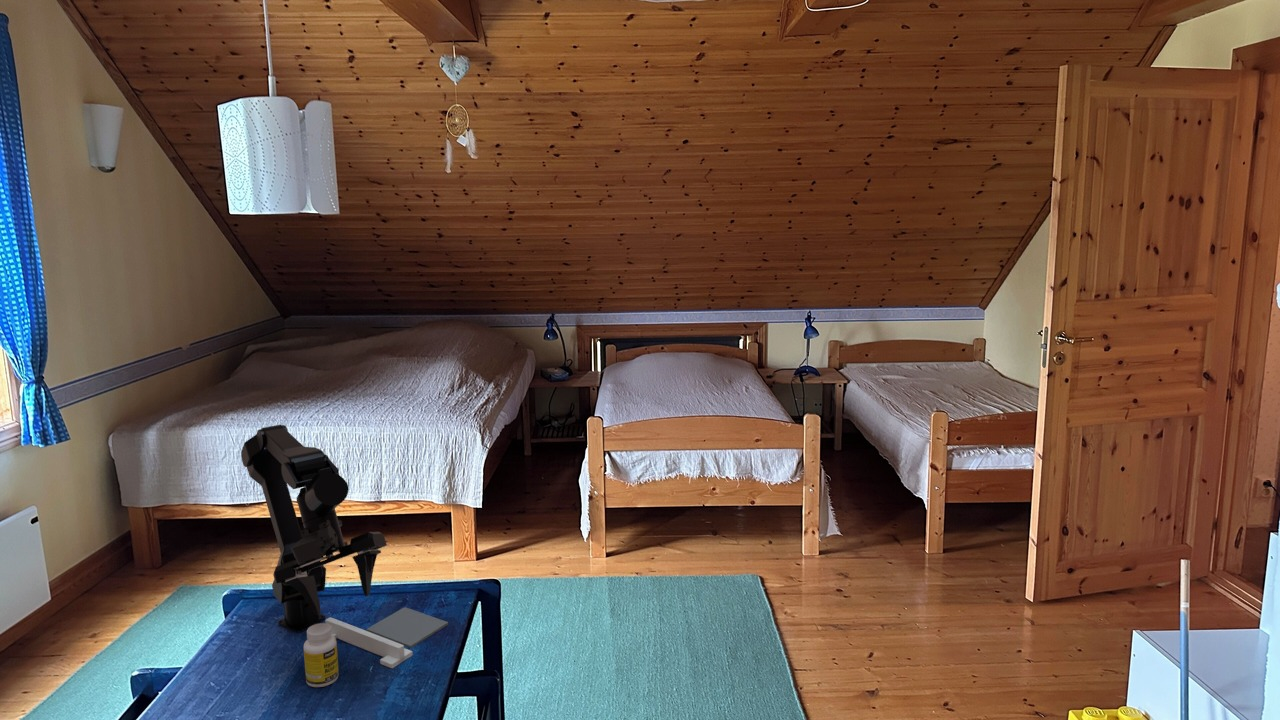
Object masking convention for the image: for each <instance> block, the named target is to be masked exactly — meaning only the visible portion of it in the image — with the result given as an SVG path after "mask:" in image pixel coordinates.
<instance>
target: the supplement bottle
mask: <svg viewBox="0 0 1280 720" xmlns="http://www.w3.org/2000/svg"><path fill="white" fill-rule="evenodd" d="M331 634H332V631H331V626H330V625H329V624H327V623H325V622H321V623H319V622H318V623H316V624H314V625H312V626H310V627H308V628H307V629H306V640H305V642H304V643H303V658H304V659H303V660H304V673H305V682H306V684H307V685H308V686H309V687H312V688H322V687H327V686H329V685H333V683H335V682H337V680H338V679H339V674H340V673H339V670H340V669H339V659H338V646H337V645H338V643H337V642H338V641H337V638H336V639H335V637H334V636H332V635H331Z"/></svg>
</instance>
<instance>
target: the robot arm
mask: <svg viewBox="0 0 1280 720" xmlns="http://www.w3.org/2000/svg"><path fill="white" fill-rule="evenodd" d="M240 456H241V463H242V465H243V468H247V469H246V470H247V472H248V475H249V477H250V478H251V479H252V480H254V481H255V482H256V484H258V485H260V486H261V488H262V492H263V496H264V499H265V502H266V505H267V509H268V513H269V517H270V520H271V523H272V527H273V530H274V533H275V536H276V537H275V538H276V541H277V544H278V548H279V552H280V555H279V558H278V561H277V564H276V566H275V568H274V571H273V574H272V575H273V582H272V585H271V586H272V587H271V588H272V593H273V596H274V598H275V599H276V600H277V601H278V602H279V603H280V604H281V605H283V615H284V618H282V619H280V620H278V621H277V624H278V626H281V627H284V628H285V629H289V630H290V631H293V632H296V633H301V632H303V631H304V630H307V629H308V628H309V627H311V626H312V625H315V624H319V622H322V621H323V620H326V615H325V614H323V613H322V610H321V603H320V597H319V592H323V591H325V588H326V579H327V578H326V577H327V573H326V572H327V568H326V566H325V565H328V564H330V563H332V562H335V561H338V560H340V559H343V558H346V557H348V556H351V555H353V556H351V557H352V560H353V561H354V563H355V565H356V566H357V570H358V571H357V572H358V575H359V579H360V584H361V589H362V590H363V591H362V592H363V594H364V596H365V597H368V596H370V594H371V585H372V580H373V579H372V578H373V573H374V567H375V566H376V565H375V564H376V560H377V557H378V555H379V554H381V553H382V550H381V549H382V548H384V547H386V546H387V542H386V537H385V536H384V534H383V533H382V532H380V531H368V532H365V533H363V534H361V535H357V536H355V537H352V538H350V543H348V541H345V540H344V536H343V534H342V530H341V527H342V526H343V521H342V520H341V519H338V516H337V512H336V508H337V507H338V506H340V505H341V504H342V503H343V502H344V501H345V500H346V499H347V497H348V495H349V485H348V482H347V481H346V480H345V479H344V478H343V477H342V475H340V471H339V470H340V469H339V468H338V467H337V466H336V464H334V462H333V461H332V460H331V459H330V457H329V456H328V454H325V452H324V451H323V450H321V449H319V448H317V447H315V446H313V447H312V446H304V444H302V443H301V442H300V441H298V440H297V438H295V437H294V436H293V435H292V434H291V433H290V432H289V430H288V426H286V425H285V424H284V425H283V424H277V425H276V424H275V425H271V426H270V425H269V426H265V427H261V428H260V429H257V431H256V434H255V435H254V436H252V437H251V438H249V439H248V440H246V441H245V442H244V444H243V446H242V449H241V451H240ZM288 486H289V487H290V488H291V489H292V490H297V489H299V493H298V495H297V496H296V503H297V506H298V511H299V514H300V516H301V521H302V525H303V528H301V527H300V524H299V520H298V517H297V514H296V510H295V507H294V503H293V501H292V495H291V493H290V490H289V487H288ZM337 552H339V553H337ZM334 553H335V554H334ZM336 553H337V554H336ZM354 554H356V555H354Z"/></svg>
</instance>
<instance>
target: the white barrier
mask: <svg viewBox="0 0 1280 720" xmlns="http://www.w3.org/2000/svg"><path fill="white" fill-rule="evenodd" d="M324 623H327V624H329V625H330V626H331V631H332V634H331V635H332V636H334V637H335V639H336V640H337V639H338V640H340V641H343V642H346V643H348V644H350V645H353V646H356V647H358V648H360V649H362V650H366V651H368V652H370V653H372V654H375V655H378V656H381V657H382V658H381V659H379V663H380V665H383V666H385V667H387V668H389V669H390V668H391V669H394V668H395V667H396V666H399V665H400V664H402V662H403V663H404V661H406V660H407V659H409V658H410V657H413V651H412V650H409V649H407V648H405V646H404V645H402V644H399V643H397V642H394V641H391V640H389V639H386V638H383V637H381V636H378V635H376V634H373V633H370V632H368V631H366V630H365V629H362V628H360V627H357V626H354V625H352V624H349V623H347V622H344V621H341V620H339V619H336V618H333V617H327V618H325V619H324Z"/></svg>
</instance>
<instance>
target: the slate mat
mask: <svg viewBox="0 0 1280 720" xmlns="http://www.w3.org/2000/svg"><path fill="white" fill-rule="evenodd" d="M447 626H449V622H448V621H445V620H442V619H440V618H437V617H434V616H431V615H429V614H426V613H423V612H420V611H417V610H414V609H412V608H408V607H406V606H404V607H402V608H400V609H399V610H397V611H395V612H393V613H392V614H390V615H389V616H387V617H385V618H383V619H381V620H380V621H378V622H376V623H374V624H373V625H371V626H369V627H368V628H366V630H365V631H368V632H370V633H373V634H376V635H378V636H381V637H383V638H386V639H389V640H391V641H394V642H397V643H399V644H402V645H404V647H406V648H409V649H413V648H414V647H416V646H417V645H418V644H420V643H422V642H423V641H425V640H427V639H428V638H430V637H431V636H433V635H434V634H436V633H437V632H439V631H440V630H443V629H444V628H445V627H447Z"/></svg>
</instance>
